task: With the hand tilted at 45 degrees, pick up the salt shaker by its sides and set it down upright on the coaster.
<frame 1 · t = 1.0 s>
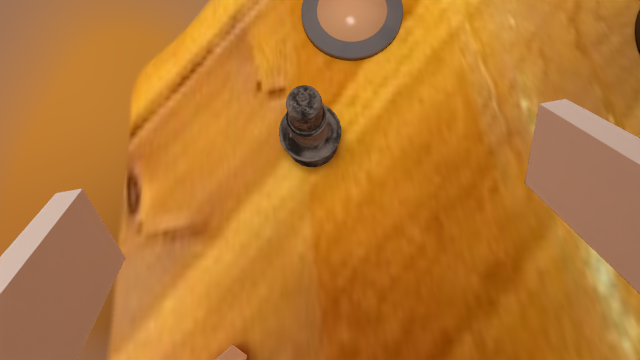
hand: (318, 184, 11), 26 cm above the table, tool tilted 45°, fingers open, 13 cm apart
salt shaker: (312, 142, 39), on the table
coaster: (351, 15, 41), on the table
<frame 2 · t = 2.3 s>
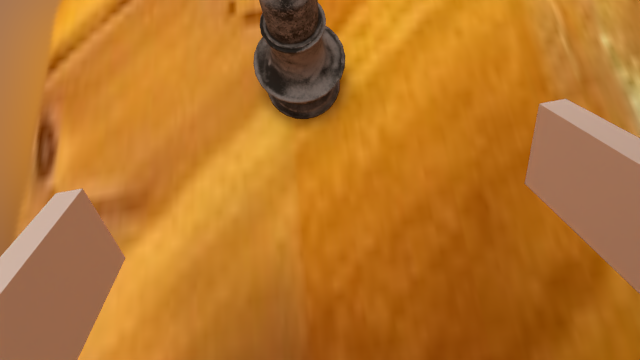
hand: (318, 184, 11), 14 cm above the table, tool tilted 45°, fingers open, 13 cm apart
salt shaker: (303, 86, 27), on the table
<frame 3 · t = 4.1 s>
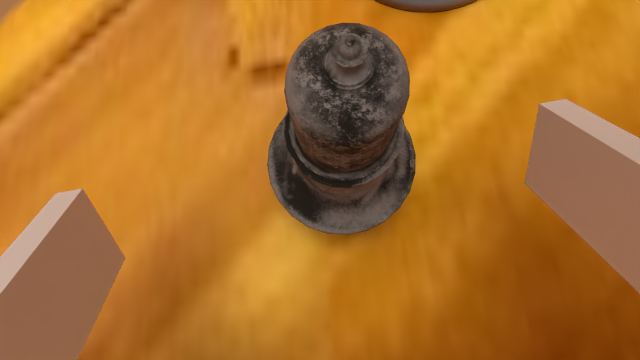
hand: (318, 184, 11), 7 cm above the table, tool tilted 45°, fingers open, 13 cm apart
salt shaker: (339, 178, 18), on the table
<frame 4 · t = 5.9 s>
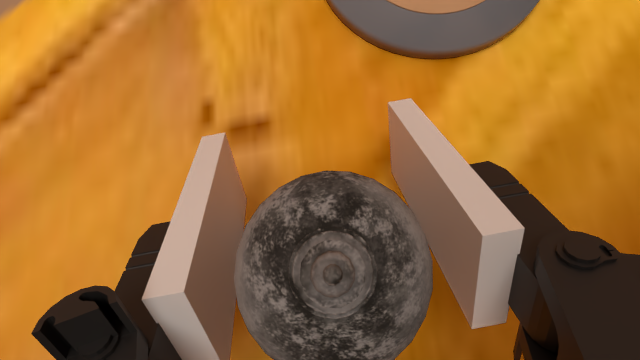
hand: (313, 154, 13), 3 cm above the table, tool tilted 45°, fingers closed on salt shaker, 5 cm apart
salt shaker: (332, 262, 15), on the table, touching gripper
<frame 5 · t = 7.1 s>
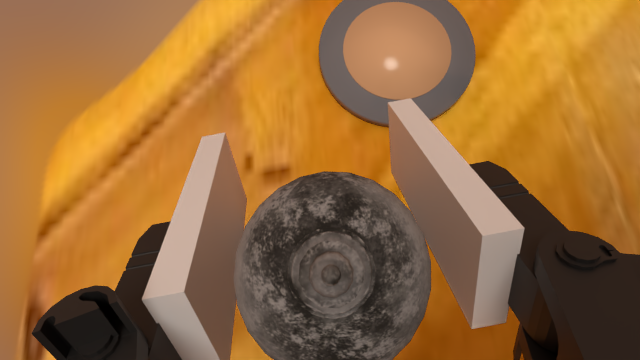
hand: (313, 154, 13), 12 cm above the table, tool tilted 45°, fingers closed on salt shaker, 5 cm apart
salt shaker: (332, 262, 15), point 9 cm above the table, touching gripper
coaster: (394, 56, 27), on the table
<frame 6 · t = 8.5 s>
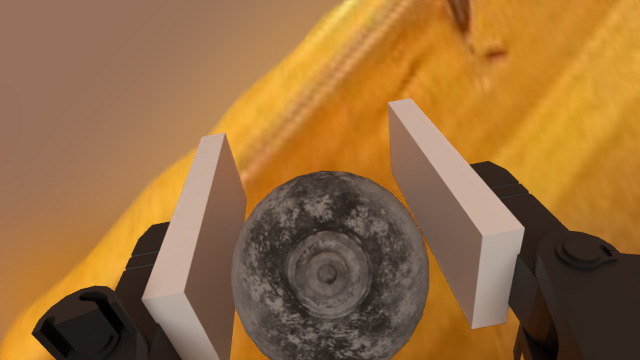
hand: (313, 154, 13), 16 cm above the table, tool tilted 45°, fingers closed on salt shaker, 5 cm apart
salt shaker: (332, 262, 15), point 12 cm above the table, touching gripper
when the fingers open (6 cm above the table, at t = 10.8 s): salt shaker drops 1 cm, resting on coaster.
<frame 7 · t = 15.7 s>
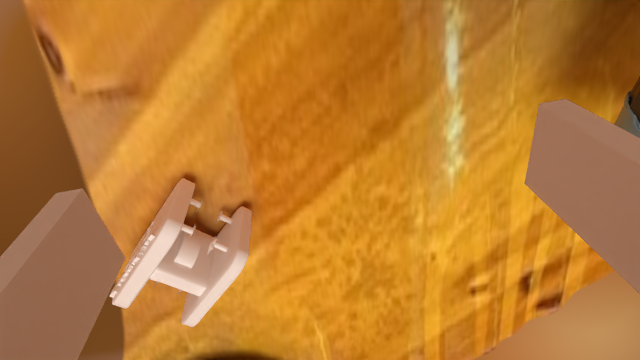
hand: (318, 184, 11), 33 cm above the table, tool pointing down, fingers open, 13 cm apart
cable organizer: (193, 222, 52), on the table
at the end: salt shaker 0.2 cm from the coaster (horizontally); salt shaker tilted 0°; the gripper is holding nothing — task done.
